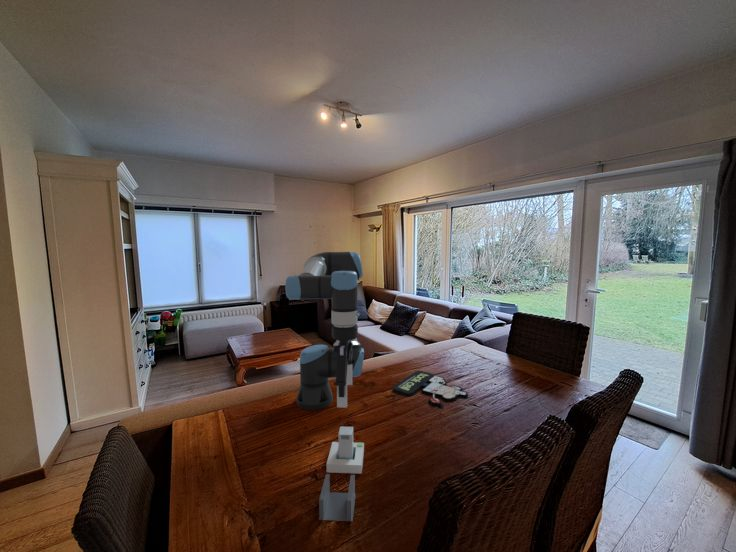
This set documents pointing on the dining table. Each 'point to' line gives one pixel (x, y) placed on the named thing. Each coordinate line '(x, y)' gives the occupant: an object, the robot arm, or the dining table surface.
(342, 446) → the plug
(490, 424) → the dining table surface
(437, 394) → the sign
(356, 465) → the frame
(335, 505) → the holster
